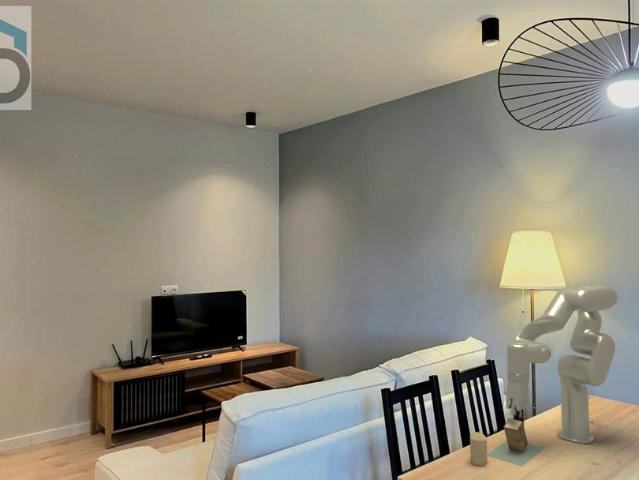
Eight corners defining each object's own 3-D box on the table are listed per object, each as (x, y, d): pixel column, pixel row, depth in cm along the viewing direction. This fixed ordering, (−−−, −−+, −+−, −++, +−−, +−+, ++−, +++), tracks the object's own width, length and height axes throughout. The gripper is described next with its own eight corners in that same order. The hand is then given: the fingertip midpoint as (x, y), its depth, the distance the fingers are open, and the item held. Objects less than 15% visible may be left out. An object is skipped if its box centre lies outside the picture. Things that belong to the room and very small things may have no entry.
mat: (510, 439, 188) (510, 438, 188) (545, 449, 179) (545, 447, 179) (485, 456, 173) (485, 455, 173) (522, 468, 164) (522, 466, 164)
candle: (488, 466, 165) (487, 437, 165) (471, 465, 166) (470, 435, 166) (486, 460, 170) (485, 431, 171) (469, 458, 172) (469, 430, 172)
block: (514, 440, 181) (508, 418, 178) (527, 443, 177) (522, 421, 175) (509, 449, 178) (503, 427, 175) (522, 453, 174) (517, 430, 171)
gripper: (516, 371, 187) (517, 420, 186) (499, 379, 176) (499, 430, 176) (536, 375, 182) (537, 425, 181) (520, 383, 171) (520, 436, 170)
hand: (518, 427), depth 178 cm, fingers closed
